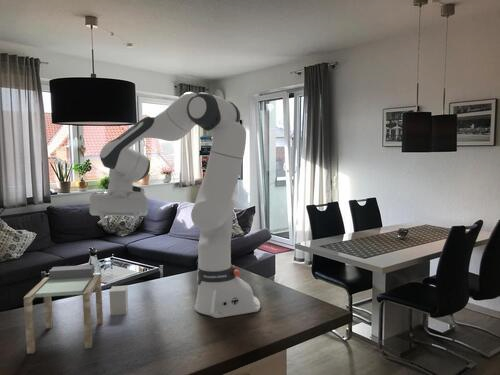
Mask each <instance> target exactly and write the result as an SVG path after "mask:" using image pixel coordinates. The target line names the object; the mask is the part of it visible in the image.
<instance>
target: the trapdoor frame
mask: <svg viewBox="0 0 500 375" xmlns="http://www.w3.org/2000/svg"><path fill="white" fill-rule="evenodd" d="M48 281H49V276H48V277H44V278H43V279H41V281H39V283H37V284H36V285H35V286H34V287H32V289H31V290H30V291H28V293H26V294H25V296H24V297H23V308H24V310H23V312H24V322H25V325H24V327H25V328H24V329H25V339H26V340H25V341H26V353H27V354H28V355H29V354H34V353H35V351H36V340H35V326H34V324H35V323H34V322H35V321H34V310H33V309H34V308H33V307H34V306H33V300H34V299H35V298H36V297H35V294H36V293H37V292H38V291H39V290H40V289H41V288H42V287H43V286H44V285H45V284H46V283H47V282H48ZM94 291H95V309H96V310H95V312H96V325H102V324H104V314H103V312H104V311H103V296H102V295H103V294H102V274H101V273H97V274H93V275H92V281H91V282H90V283H89V285H88V286H87V288H86V289H85V291H84V292H83V294H82V306H83V307H82V308H83V309H82V310H83V312H82V313H83V327H84V329H83V330H84V346H85V347H84V348H85V349H91V348H93V335H92V334H93V333H92V332H93V330H92V312H91V310H92V308H91V295H92V294H93V293H94ZM43 298H44V311H45V326H46V327H45V328H46V329H52V328H53V327H54V320H53V319H54V318H53V316H54V315H53V304H52V303H53V302H52V301H53V300H52V298H53V297H52V296H49V297H43Z"/></svg>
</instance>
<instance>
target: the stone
mask: <svg viewBox="0 0 500 375" xmlns="http://www.w3.org/2000/svg"><path fill="white" fill-rule="evenodd" d="M128 292H129V290H128V285H117V286H116V285H115V286H114V285H113V286H111V288H110V290H109V310H110V311H109V312H110V316H118V315H121V316H122V315H127V312H128V310H129V294H128Z"/></svg>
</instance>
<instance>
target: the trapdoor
mask: <svg viewBox="0 0 500 375" xmlns="http://www.w3.org/2000/svg"><path fill="white" fill-rule="evenodd" d="M94 273H95V264H84V265H65V266H52V268H50V269H49V270H48V277H49V281H48V282H47V283H46V284H45V285H44V286H43V287H42V288H41V289H40V290H39V291H38V292H37V293H36V294H35V298H44V297H49V296H51V297H62V296H75V295H83V292H84V291H85V289H86V288H87V286H88V285H89V283H90V282H91V281H92V275H94Z"/></svg>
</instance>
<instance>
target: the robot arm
mask: <svg viewBox="0 0 500 375" xmlns="http://www.w3.org/2000/svg"><path fill="white" fill-rule="evenodd" d="M240 121H241V112H240V110H239V108H238V106H236V104H234V103H233V102H231V101H228V100H227V99H225V98H223V97H221V96H218V95H214V94H211V93H208V92H198V93H196V92H192V91H188V92H185V93H183V94H182V95H180V96H179V97H178V98H177V99H175V100H174V101H173V102H172V103H171V104H169V106H168V107H167V108H166V109H164V110H163V111H162V112H160V113H158V114H155V115H148V116H145V117H143V118H142V119H140V120H139V121H137V122H136V123H135V124H133V125H132V126H131V127H130V128H128V129H127V130H125V131H124V132H123V133H122V134H120V135H118V136H117V137H116V138H115V139H113V140H110V141H108V142H107V143H105V145H103V147H102V149H101V151H100V152H99V157H100V158H99V159H100V161H101V164H102V165H103V167H104V168H107V169H109V172H108V180H109V182H108V185H107V192H106V191H105V192H103V191H102V192H99V191H96V192H93V193H91V194H90V195H89V201H90V202H89V203H90V204H89V214H90V215H91V216H99V218H100V220H101V221H102V226H107V225H108V218H105V216H106V217H107V216H109V217H110V216H115V217H116V216H118V217H119V216H121V217H124V216H127V217H129V216H130V217H133V218H130V226H135V225H136V221H137V219H138V218H139V217H146V216H147V215H148V213H149V204H148V199H147V196H146V195H145V189H144V187H140V186H137V185H135V184H134V185H133V183H137V182H139V181H141V180H142V179H145V178H146V177H147V176H148V175H149V173H150V171H151V170H150V169H151V162H150V158H149V157H148V156H146V154H145V155H144V154H142V153H141V152H139V151H136V150H135V149H132V148H131V147H133V146H134V145H135V144H136V143H138V142H139V141H141V140H143V139H158V140H161V141H163V140H164V141H166V142H175V141H176V142H177V141H179V140H181V139H182V138H184V137H185V136H186V135H188V133H189V132H190V131H191V130H193V129H194V127H195V126H196V125H197V126H198V127H200V128H201V129H203V130H204V131H205V132H209V131H210V132H211V135H212V144H211V147H210V150H209V155H208V161H207V164H206V168H205V173H204V176H203V179H202V181H201V184H200V186H199V189H198V192H197V195H196V198H195V202H194V205H193V207H192V208H191V212H190V217H191V220H192V223H193V224H194V226H195V227H196V228H198V229H199V230H200V234H199V239H198V240H199V241H198V243H197V256H198V257H197V260H198V261H197V262H198V264H197V268H196V269H197V270H196V282H197V294H196V300H195V305H194V306H193V307H194V310H195V311H196V312H198V313H200V314H202V315H207V316H210V317H212V318H215V319H218V318H219V319H220V318H225V317H232V316H238V315H244V314H249V313H257V312H259V311H260V309H261V302H260V299H258V297H257V296H255V295H254V292H253V289H252V287H251V285H250V284H249V283H248V282H247V281H244V280H243V279H241V278H240V277H239V276H240V270H239V269H237V267H236V266H235V265H234V264H233V265H232V262H231V261H232V257H231V256H232V255H231V254H232V249H231V248H232V246H231V245H232V244H231V241H232V234H233V232H232V231H233V221H234V220H233V219H234V218H233V217H234V202H233V200H232V198H233V195H234V192H235V189H236V186H237V185H238V184H237V183H238V181H239V177H240V172H241V168H242V164H243V160H244V155H245V150H246V143H247V142H246V141H247V130H246V127H245V126H244V125H243V124H242V123H240Z"/></svg>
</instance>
